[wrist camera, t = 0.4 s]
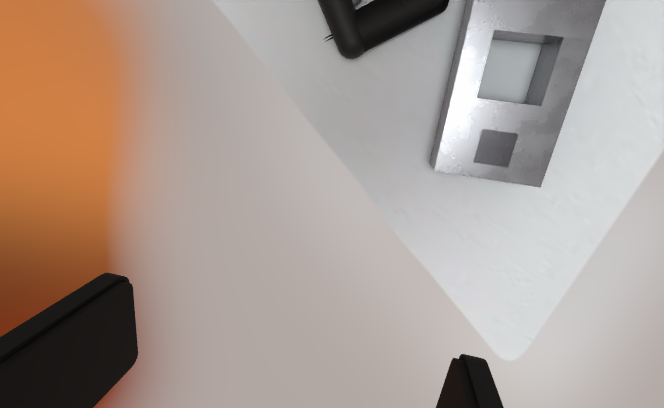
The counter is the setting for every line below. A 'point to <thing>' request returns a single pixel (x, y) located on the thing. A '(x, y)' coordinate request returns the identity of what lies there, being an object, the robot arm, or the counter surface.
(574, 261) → the counter surface
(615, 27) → the counter surface
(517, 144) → the grey peg hole block
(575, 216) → the counter surface
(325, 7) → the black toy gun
